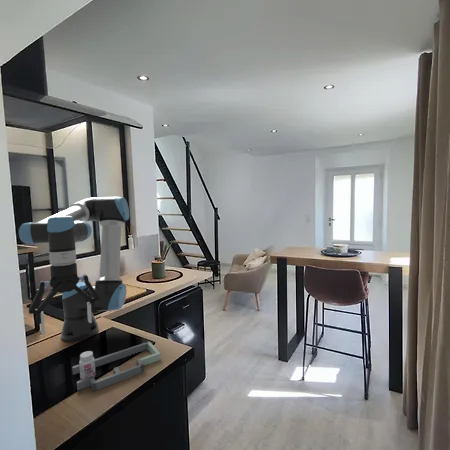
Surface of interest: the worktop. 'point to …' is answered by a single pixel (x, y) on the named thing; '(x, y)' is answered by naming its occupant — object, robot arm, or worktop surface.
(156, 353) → the channel
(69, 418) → the worktop surface
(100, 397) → the worktop surface
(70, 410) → the worktop surface
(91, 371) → the pill bottle
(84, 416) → the worktop surface
